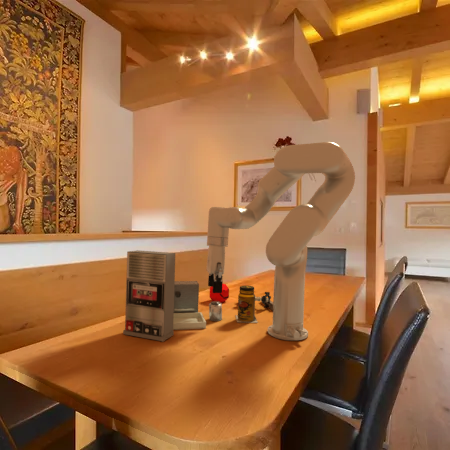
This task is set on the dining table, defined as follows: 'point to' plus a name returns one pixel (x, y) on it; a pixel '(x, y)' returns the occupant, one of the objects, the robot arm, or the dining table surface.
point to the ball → (220, 294)
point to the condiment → (246, 305)
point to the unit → (186, 296)
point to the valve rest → (269, 304)
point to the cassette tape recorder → (150, 294)
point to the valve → (264, 299)
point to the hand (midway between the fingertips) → (214, 289)
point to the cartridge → (215, 311)
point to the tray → (188, 321)
